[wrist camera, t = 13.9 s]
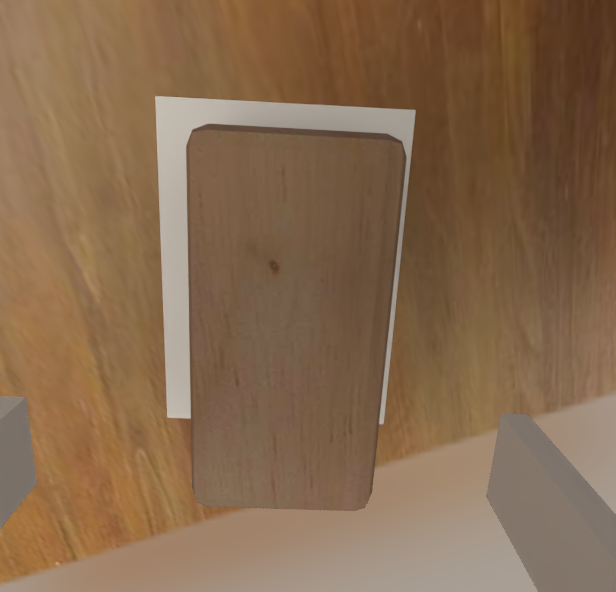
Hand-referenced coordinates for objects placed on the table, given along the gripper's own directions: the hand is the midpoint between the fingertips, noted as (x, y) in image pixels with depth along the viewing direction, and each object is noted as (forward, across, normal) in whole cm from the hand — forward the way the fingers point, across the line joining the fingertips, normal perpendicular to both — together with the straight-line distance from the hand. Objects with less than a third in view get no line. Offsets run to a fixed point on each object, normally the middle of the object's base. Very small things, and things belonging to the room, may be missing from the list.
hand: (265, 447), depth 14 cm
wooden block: (+15, 0, -11) cm, 19 cm away
